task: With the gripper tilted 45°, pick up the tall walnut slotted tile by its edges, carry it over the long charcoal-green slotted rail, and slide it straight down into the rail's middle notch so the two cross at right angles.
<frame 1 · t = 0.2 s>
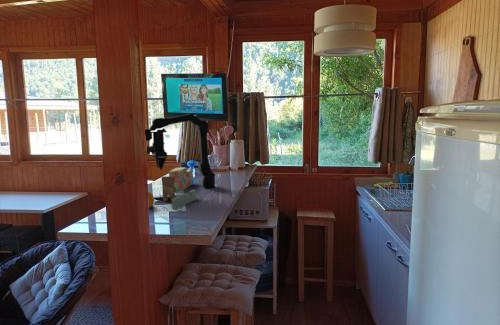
hand: (159, 168, 209), 14 cm above the table, tool pointing down, fingers open, 9 cm apart
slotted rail: (189, 201, 188), on the table
fruit: (142, 208, 180), on the table
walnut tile: (169, 200, 193), on the table
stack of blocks: (182, 188, 223), on the table
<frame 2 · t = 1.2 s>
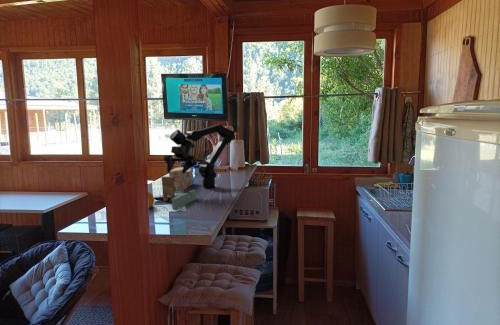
hand: (175, 172, 197), 13 cm above the table, tool tilted 45°, fingers open, 9 cm apart
nothing on the table moved.
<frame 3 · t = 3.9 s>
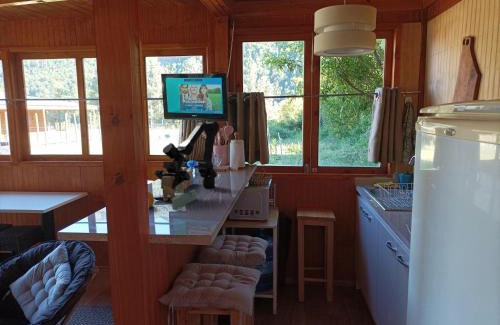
hand: (166, 188, 190), 7 cm above the table, tool tilted 45°, fingers closed on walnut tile, 6 cm apart
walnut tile: (169, 200, 193), on the table, touching gripper
everything else where it was.
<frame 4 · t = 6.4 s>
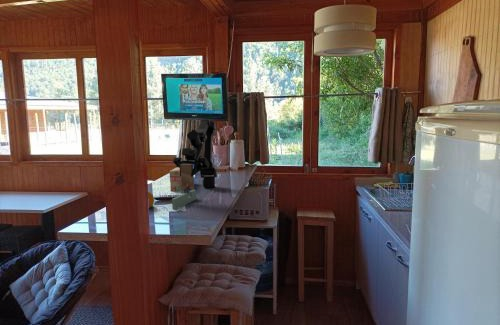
hand: (185, 176, 185), 14 cm above the table, tool tilted 45°, fingers closed on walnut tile, 6 cm apart
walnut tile: (188, 188, 187), point 7 cm above the table, touching gripper
everything else where it was.
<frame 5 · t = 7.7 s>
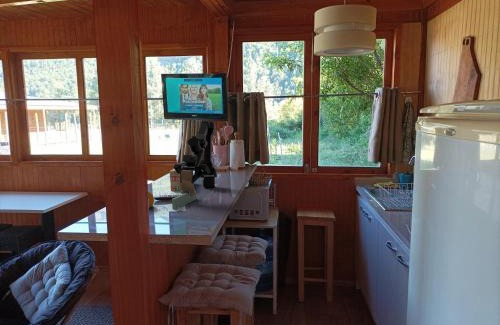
hand: (186, 182, 185), 10 cm above the table, tool tilted 45°, fingers closed on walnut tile, 6 cm apart
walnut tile: (188, 195, 187), point 4 cm above the table, touching gripper
when the fingers open (7 cm above the table, at t = 9.0 s): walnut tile stays where it is, on the table.
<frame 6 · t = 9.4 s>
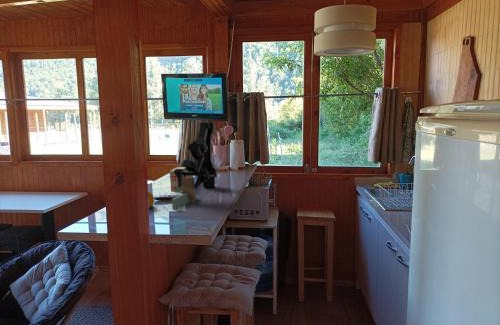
hand: (186, 187, 186), 8 cm above the table, tool tilted 45°, fingers open, 9 cm apart
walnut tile: (189, 201, 188), on the table
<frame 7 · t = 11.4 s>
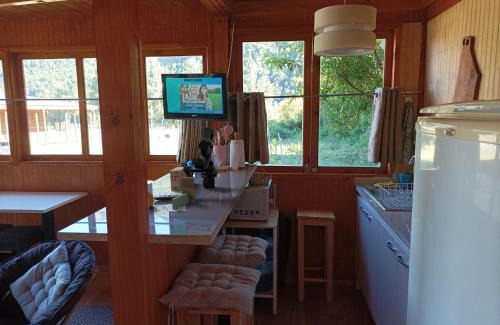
hand: (195, 184, 194), 7 cm above the table, tool tilted 45°, fingers open, 9 cm apart
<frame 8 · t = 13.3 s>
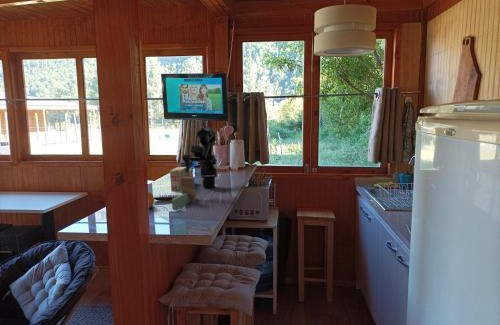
hand: (194, 172, 195), 14 cm above the table, tool tilted 45°, fingers open, 9 cm apart
at the end: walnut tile 0.0 cm off-centre on the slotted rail, point 0.0 cm above the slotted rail's base; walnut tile tilted 0°; the gripper is holding nothing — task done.
